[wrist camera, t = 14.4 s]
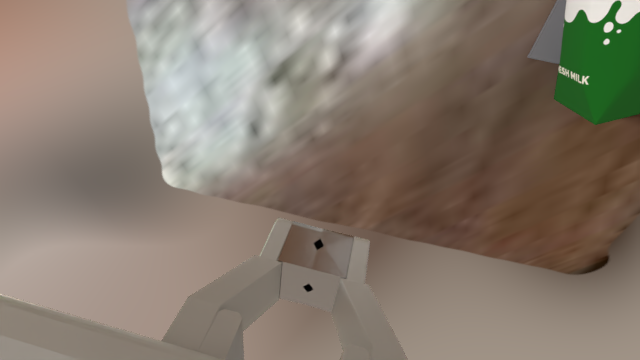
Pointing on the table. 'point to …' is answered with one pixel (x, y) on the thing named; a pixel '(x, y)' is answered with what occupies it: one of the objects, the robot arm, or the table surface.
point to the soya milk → (600, 59)
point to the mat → (550, 36)
